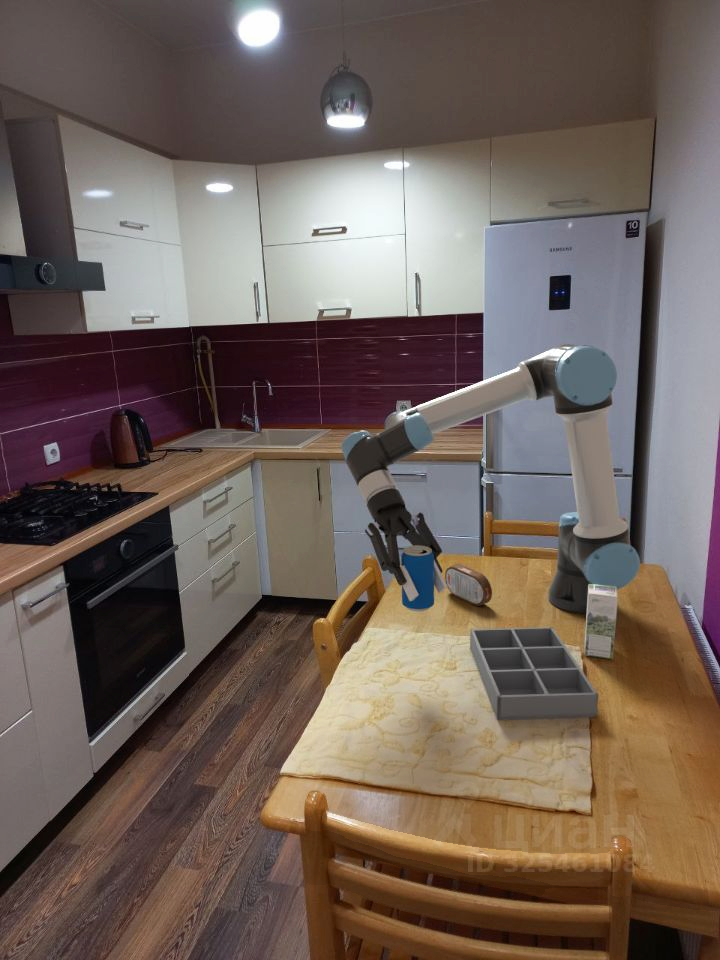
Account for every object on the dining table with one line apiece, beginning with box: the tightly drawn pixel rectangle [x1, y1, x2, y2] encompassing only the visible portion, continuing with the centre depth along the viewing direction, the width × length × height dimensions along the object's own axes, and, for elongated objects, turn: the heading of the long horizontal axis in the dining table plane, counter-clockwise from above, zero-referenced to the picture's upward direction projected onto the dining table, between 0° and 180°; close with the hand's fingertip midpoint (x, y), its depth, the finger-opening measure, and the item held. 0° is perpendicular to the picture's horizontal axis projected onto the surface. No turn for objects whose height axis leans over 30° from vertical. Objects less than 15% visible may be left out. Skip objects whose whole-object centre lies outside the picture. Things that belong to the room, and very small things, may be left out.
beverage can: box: [400, 545, 435, 612], centre depth 129 cm, size 6×6×12 cm
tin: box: [444, 563, 493, 607], centre depth 164 cm, size 15×3×8 cm, turn 34°
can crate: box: [469, 626, 599, 721], centre depth 127 cm, size 18×26×4 cm
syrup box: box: [584, 584, 619, 660], centre depth 136 cm, size 6×6×14 cm
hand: (428, 593), depth 126 cm, fingers closed on beverage can, 6 cm apart
